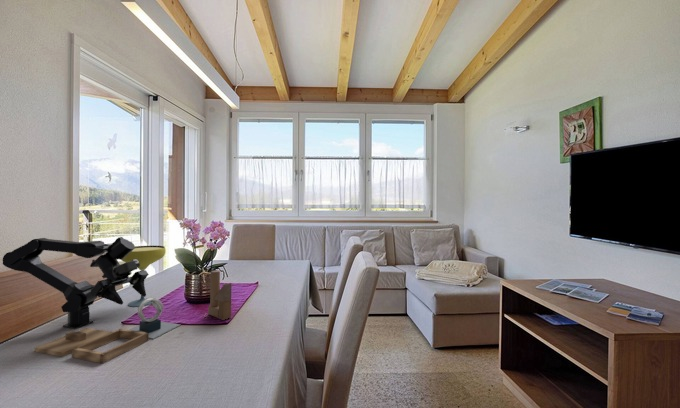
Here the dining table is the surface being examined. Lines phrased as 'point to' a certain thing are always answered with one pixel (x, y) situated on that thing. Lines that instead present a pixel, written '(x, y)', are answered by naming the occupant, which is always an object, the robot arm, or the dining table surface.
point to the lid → (70, 341)
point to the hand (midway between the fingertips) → (134, 299)
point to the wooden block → (219, 297)
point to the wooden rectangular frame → (102, 357)
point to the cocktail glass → (144, 262)
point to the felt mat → (164, 329)
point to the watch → (152, 322)
